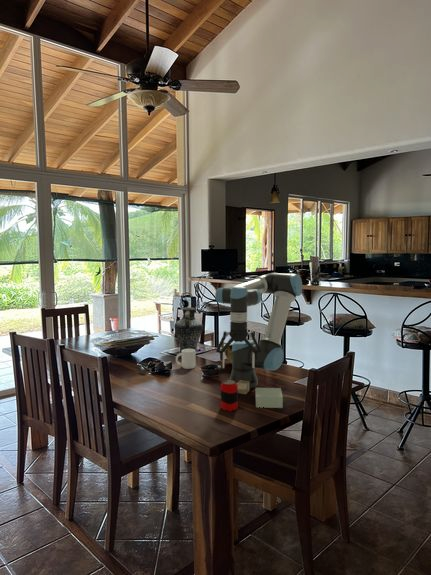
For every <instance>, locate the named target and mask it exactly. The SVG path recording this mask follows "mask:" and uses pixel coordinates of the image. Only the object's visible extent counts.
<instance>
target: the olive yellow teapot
mask: <svg viewBox="0 0 431 575" xmlns="http://www.w3.org/2000/svg"><path fill="white" fill-rule="evenodd" d="M249 340H253V339H252V338H250V339H249ZM226 343H227V342H225V341H224V342H223V344H222V346H221V349H222V348H223V347H224V346H225V344H226ZM232 345H233V343H231V344H230V345H229V346H228V348H227V349H226V350H225V351H224V357H225V358H226V360H227V361H228V362H229V363H230V364H231V365H232Z"/></svg>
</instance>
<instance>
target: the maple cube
mask: <svg viewBox="0 0 431 575" xmlns="http://www.w3.org/2000/svg"><path fill="white" fill-rule="evenodd" d="M237 385H238V394H241V395H247V394H248V393H249V392H250V389H249V381H242V380H240V381H238V382H237Z"/></svg>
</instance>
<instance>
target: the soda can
mask: <svg viewBox="0 0 431 575" xmlns="http://www.w3.org/2000/svg"><path fill="white" fill-rule="evenodd" d="M238 397H239V393H238V385H237V383H236V382H235V381H233V380H229V379H227V380H224V381H222V383H221V385H220V407H221V410H223V411H226V410H228V411H227V412H233V411H237V410H238V408H239V407H238V405H239V401H238V400H239V398H238ZM232 410H233V411H232Z"/></svg>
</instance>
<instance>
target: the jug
mask: <svg viewBox="0 0 431 575" xmlns="http://www.w3.org/2000/svg"><path fill="white" fill-rule="evenodd" d="M196 309H197V308H195V307H192V306H191V307H182V314H183V316H182V318H181V319H179V320H177V321H176V322H175V323H174V331H175V332H174V333H175V334H176V337H177V340H178V344H179V351H180V352H181V351H182V350H183V349H194V350H195V352H197V348H198V347H197V346H198V344H199V340H200V338H201V336H202V333H203V329H204V325H203V323H202V322H201V321H200V320H198V319H196V316H195V314H196Z"/></svg>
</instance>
